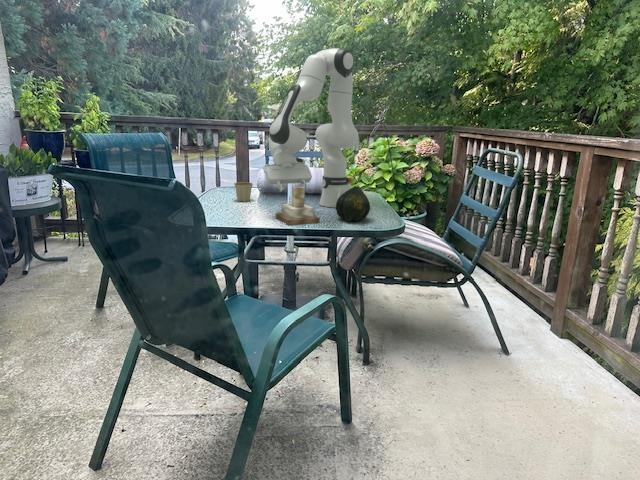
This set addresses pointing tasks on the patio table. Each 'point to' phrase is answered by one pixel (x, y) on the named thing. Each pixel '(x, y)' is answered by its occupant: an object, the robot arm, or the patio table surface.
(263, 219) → the patio table surface
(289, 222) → the plinth
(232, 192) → the patio table surface
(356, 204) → the squash
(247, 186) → the flower pot
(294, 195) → the birch block
